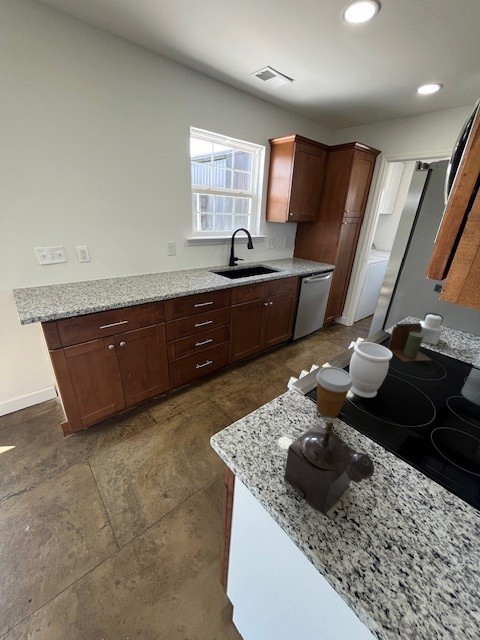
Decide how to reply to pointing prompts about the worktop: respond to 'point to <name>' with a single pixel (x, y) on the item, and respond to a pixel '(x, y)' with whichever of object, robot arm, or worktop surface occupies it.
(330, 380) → the disposable coffee cup
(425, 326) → the container
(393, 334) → the spice rack
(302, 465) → the brown coffee grinder
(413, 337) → the spice tin
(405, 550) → the worktop surface
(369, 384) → the jar
